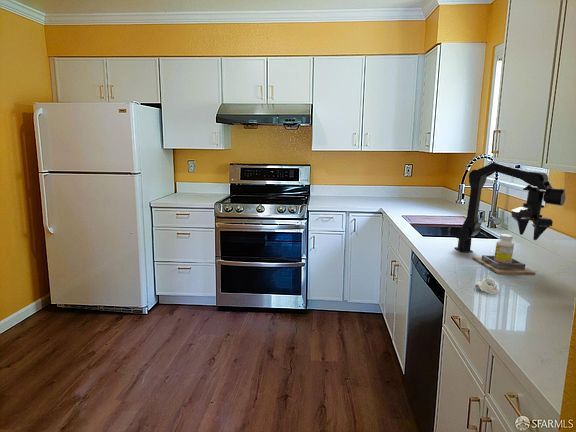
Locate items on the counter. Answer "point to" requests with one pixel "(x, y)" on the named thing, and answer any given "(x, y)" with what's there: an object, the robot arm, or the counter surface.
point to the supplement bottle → (504, 249)
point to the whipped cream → (488, 286)
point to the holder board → (503, 266)
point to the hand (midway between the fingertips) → (527, 237)
